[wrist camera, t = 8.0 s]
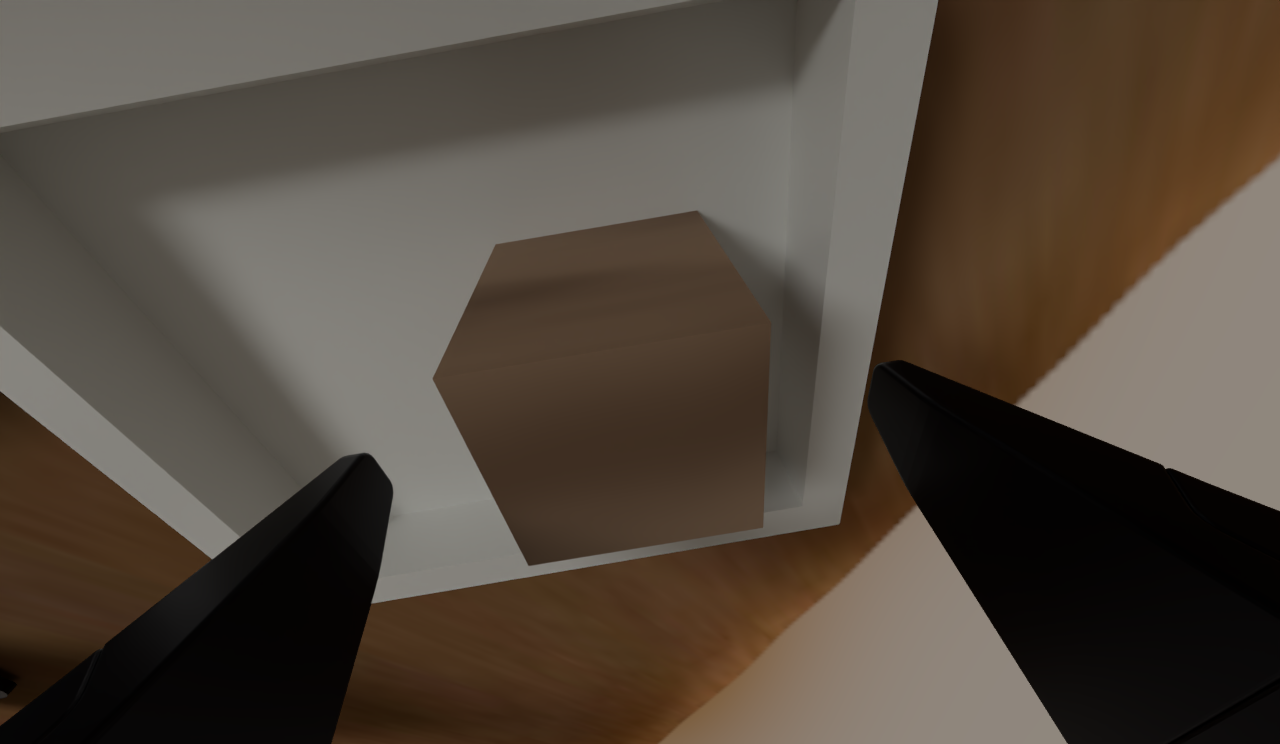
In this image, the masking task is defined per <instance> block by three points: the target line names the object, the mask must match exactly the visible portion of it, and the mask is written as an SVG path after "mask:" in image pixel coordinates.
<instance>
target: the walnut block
mask: <svg viewBox="0 0 1280 744" xmlns="http://www.w3.org/2000/svg"><path fill="white" fill-rule="evenodd" d="M770 341H771V321H770V320H769V318H768V317H767V315H766V314H765V312H764V311H763V309H762V308H761V306H760V305H759V303H758V302H757V300H756V299H755V297H754V296H753V294H752V293H751V291H750V290H749V288H748V287H747V285H746V284H745V282H744V281H743V279H742V278H741V276H740V274H739V273H738V271H737V270H736V268H735V267H734V265H733V264H732V262H731V261H730V259H729V258H728V256H727V255H726V253H725V252H724V250H723V249H722V247H721V246H720V244H719V243H718V241H717V240H716V238H715V237H714V235H713V234H712V232H711V231H710V229H709V228H708V226H707V225H706V223H705V221H704V220H703V218H702V217H701V215H700V214H699V212H698V211H691V212H685V213H679V214H673V215H667V216H661V217H655V218H649V219H643V220H637V221H631V222H625V223H619V224H614V225H608V226H602V227H596V228H590V229H584V230H578V231H572V232H566V233H560V234H554V235H548V236H542V237H536V238H530V239H524V240H518V241H512V242H507V243H501V244H495V247H494V249H493V251H492V253H491V255H490V257H489V259H488V262H487V264H486V266H485V268H484V270H483V272H482V274H481V276H480V279H479V281H478V283H477V285H476V287H475V289H474V291H473V293H472V296H471V298H470V300H469V302H468V304H467V306H466V308H465V311H464V313H463V315H462V317H461V319H460V321H459V323H458V325H457V328H456V330H455V332H454V334H453V336H452V338H451V340H450V342H449V345H448V347H447V349H446V351H445V353H444V355H443V357H442V359H441V362H440V364H439V366H438V368H437V370H436V372H435V374H434V377H433V381H434V383H435V385H436V387H437V389H438V391H439V393H440V395H441V397H442V399H443V401H444V403H445V404H446V406H447V408H448V410H449V412H450V414H451V416H452V418H453V420H454V422H455V424H456V426H457V428H458V430H459V432H460V434H461V436H462V438H463V440H464V441H465V443H466V445H467V447H468V449H469V451H470V453H471V455H472V457H473V459H474V461H475V463H476V465H477V467H478V469H479V471H480V473H481V475H482V477H483V478H484V480H485V482H486V484H487V486H488V488H489V490H490V492H491V494H492V496H493V498H494V500H495V502H496V504H497V506H498V508H499V510H500V512H501V514H502V515H503V517H504V519H505V521H506V523H507V525H508V527H509V529H510V531H511V533H512V535H513V537H514V539H515V541H516V543H517V545H518V547H519V549H520V551H521V552H522V554H523V556H524V558H525V560H526V562H527V564H528V566H532V565H539V564H545V563H551V562H557V561H563V560H569V559H575V558H581V557H587V556H594V555H600V554H606V553H612V552H618V551H624V550H630V549H636V548H642V547H649V546H655V545H661V544H667V543H673V542H679V541H685V540H691V539H697V538H703V537H710V536H716V535H722V534H728V533H734V532H740V531H746V530H752V529H758V528H763V519H764V494H765V468H766V443H767V417H768V392H769V366H770Z"/></svg>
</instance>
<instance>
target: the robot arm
mask: <svg viewBox="0 0 1280 744" xmlns="http://www.w3.org/2000/svg"><path fill="white" fill-rule="evenodd" d="M868 409H869V412H870V414H871V416H872V418H873V421H874V423H875V425H876V427H877V429H878V431H879V433H880V435H881V437H882V439H883V441H884V443H885V445H886V447H887V449H888V452H889V454H890V456H891V458H892V460H893V462H894V464H895V466H896V468H897V470H898V472H899V474H900V476H901V478H902V480H903V482H904V484H905V486H906V487H907V489H908V491H909V493H910V494H911V496H912V498H913V499H914V501H915V502H916V504H917V506H918V507H919V509H920V510H921V512H922V513H923V515H924V517H925V518H926V520H927V521H928V523H929V525H930V526H931V527H932V529H933V531H934V532H935V534H936V535H937V537H938V539H939V540H940V542H941V543H942V545H943V547H944V548H945V550H946V552H947V553H948V555H949V556H950V558H951V559H952V561H953V562H954V564H955V566H956V567H957V569H958V571H959V572H960V574H961V575H962V577H963V578H964V580H965V582H966V583H967V585H968V586H969V588H970V590H971V591H972V593H973V594H974V596H975V597H976V599H977V601H978V602H979V604H980V605H981V607H982V609H983V610H984V612H985V613H986V615H987V617H988V618H989V620H990V621H991V623H992V624H993V626H994V628H995V629H996V631H997V632H998V634H999V636H1000V637H1001V639H1002V640H1003V642H1004V644H1005V645H1006V647H1007V648H1008V650H1009V651H1010V653H1011V655H1012V656H1013V658H1014V659H1015V661H1016V663H1017V664H1018V666H1019V667H1020V669H1021V670H1022V672H1023V674H1024V675H1025V677H1026V678H1027V680H1028V682H1029V683H1030V685H1031V686H1032V688H1033V689H1034V691H1035V693H1036V694H1037V696H1038V697H1039V699H1040V700H1041V702H1042V704H1043V705H1044V707H1045V709H1046V710H1047V712H1048V713H1049V715H1050V716H1051V718H1052V720H1053V721H1054V723H1055V724H1056V726H1057V727H1058V729H1059V731H1060V732H1061V734H1062V736H1063V737H1064V739H1065V740H1066V742H1067V743H1068V744H1280V511H1278V510H1275V509H1273V508H1270V507H1267V506H1265V505H1262V504H1260V503H1257V502H1255V501H1252V500H1250V499H1247V498H1244V497H1242V496H1239V495H1236V494H1234V493H1232V492H1229V491H1226V490H1224V489H1221V488H1219V487H1216V486H1214V485H1211V484H1208V483H1206V482H1204V481H1201V480H1199V479H1196V478H1194V477H1191V476H1189V475H1186V474H1184V473H1181V472H1179V471H1177V470H1174V469H1171V468H1168V469H1165V468H1164V466H1163V465H1161V464H1159V463H1156V462H1154V461H1151V460H1149V459H1146V458H1144V457H1142V456H1139V455H1137V454H1134V453H1132V452H1129V451H1126V450H1124V449H1122V448H1119V447H1117V446H1114V445H1112V444H1109V443H1107V442H1104V441H1102V440H1099V439H1096V438H1094V437H1092V436H1089V435H1087V434H1084V433H1082V432H1079V431H1077V430H1074V429H1072V428H1070V427H1067V426H1064V425H1062V424H1060V423H1057V422H1055V421H1052V420H1050V419H1047V418H1044V417H1042V416H1040V415H1037V414H1034V413H1032V412H1030V411H1027V410H1025V409H1022V408H1020V407H1017V406H1015V405H1012V404H1010V403H1007V402H1005V401H1002V400H1000V399H998V398H995V397H993V396H990V395H988V394H985V393H983V392H980V391H978V390H975V389H973V388H970V387H968V386H965V385H963V384H960V383H958V382H955V381H953V380H950V379H948V378H945V377H943V376H940V375H938V374H935V373H933V372H930V371H928V370H926V369H923V368H921V367H918V366H916V365H913V364H911V363H908V362H906V361H903V360H896V361H890V362H884V363H880V364H878V365H876V366H875V368H874V370H873V375H872V380H871V385H870V390H869V395H868ZM392 500H393V486H392V483H391V481H390V479H389V478H388V477H387V475H386V474H385V472H384V471H383V470H382V468H381V467H380V465H379V464H378V463H377V461H376V460H375V458H374V457H373V456H372V455H370V454H369V453H358V454H352V455H347V456H343V457H341V458H340V459H338V460H337V461H336V462H335V463H333V464H332V465H331V466H330V467H328V468H327V469H326V470H325V471H323V472H322V473H321V474H319V475H318V476H317V477H316V478H314V479H313V480H312V481H311V482H309V483H308V484H307V485H306V486H304V487H303V488H302V489H300V490H299V491H298V492H297V493H295V494H294V495H293V496H292V497H290V498H289V499H288V500H287V501H285V502H284V503H283V504H282V505H280V506H279V507H278V508H276V509H275V510H274V511H273V512H271V513H270V514H269V515H268V516H266V517H265V518H264V519H263V520H261V521H260V522H259V523H258V524H256V525H255V526H254V527H252V528H251V529H250V530H249V531H247V532H246V533H245V534H244V535H242V536H241V537H240V538H239V539H237V540H236V541H235V542H234V543H232V544H231V545H230V546H228V547H227V548H226V549H225V550H223V551H222V552H221V553H220V554H218V555H217V556H216V557H215V558H213V559H212V560H211V561H210V562H208V563H207V564H206V565H204V566H203V567H202V568H201V569H199V570H198V571H197V572H196V573H194V574H193V575H192V576H191V577H189V578H188V579H187V580H186V581H184V582H183V583H182V584H180V585H179V586H178V587H177V588H175V589H174V590H173V591H172V592H170V593H169V594H168V595H167V596H165V597H164V598H163V599H162V600H160V601H159V602H158V603H156V604H155V605H154V606H153V607H151V608H150V609H149V610H148V611H146V612H145V613H144V614H143V615H141V616H140V617H139V618H138V619H136V620H135V621H134V622H132V623H131V624H130V625H129V626H127V627H126V628H125V629H124V630H122V631H121V632H120V633H119V634H117V635H116V636H115V637H114V638H112V639H111V640H110V641H108V642H107V643H106V644H105V646H104V648H103V649H99V650H97V651H96V652H94V653H93V654H92V655H91V656H89V657H88V658H87V659H85V660H84V661H83V662H82V663H80V664H79V665H78V666H77V667H75V668H74V669H73V670H72V671H70V672H69V673H68V674H67V675H65V676H64V677H63V678H62V679H60V680H59V681H58V682H56V683H55V684H54V685H52V686H51V687H50V688H49V689H47V690H46V691H45V692H43V693H42V694H41V695H40V696H38V697H37V698H36V699H34V700H33V701H32V702H31V703H29V704H28V705H27V706H25V707H24V708H23V709H22V710H20V711H19V712H18V713H16V714H15V715H14V716H13V717H11V718H10V719H9V720H7V721H6V722H5V723H3V724H2V725H1V726H0V744H331V743H332V739H333V736H334V732H335V729H336V725H337V722H338V718H339V715H340V711H341V708H342V704H343V701H344V697H345V694H346V690H347V687H348V683H349V680H350V676H351V673H352V669H353V666H354V662H355V659H356V655H357V652H358V648H359V645H360V641H361V638H362V634H363V631H364V627H365V624H366V620H367V617H368V613H369V610H370V606H371V603H372V599H373V596H374V592H375V589H376V585H377V581H378V577H379V573H380V568H381V563H382V558H383V552H384V546H385V540H386V535H387V529H388V523H389V517H390V512H391V506H392ZM16 686H17V684H16V683H15V682H13V681H11V680H9V679H6V678H4V677H1V676H0V698H5V697H7V696H8V695H9V693H10V692H11V691H12V690H13V689H14V688H15V687H16Z"/></svg>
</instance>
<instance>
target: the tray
mask: <svg viewBox="0 0 1280 744" xmlns="http://www.w3.org/2000/svg"><path fill="white" fill-rule="evenodd" d="M937 5H938V0H0V392H2V393H3V394H4V395H6V396H7V397H8V398H9V399H11V400H12V401H13V402H14V403H16V404H17V405H18V406H19V407H21V408H22V409H23V410H24V411H26V412H27V413H28V414H30V415H31V416H32V417H33V418H35V419H36V420H37V421H38V422H40V423H41V424H42V425H43V426H45V427H46V428H47V429H48V430H50V431H51V432H52V433H54V434H55V435H56V436H57V437H59V438H60V439H61V440H62V441H64V442H65V443H66V444H67V445H69V446H70V447H71V448H72V449H74V450H75V451H76V452H78V453H79V454H80V455H81V456H83V457H84V458H85V459H86V460H88V461H89V462H90V463H91V464H93V465H94V466H95V467H96V468H98V469H99V470H100V471H102V472H103V473H104V474H105V475H107V476H108V477H109V478H110V479H112V480H113V481H114V482H115V483H117V484H118V485H119V486H120V487H122V488H123V489H124V490H126V491H127V492H128V493H129V494H131V495H132V496H133V497H134V498H136V499H137V500H138V501H139V502H141V503H142V504H143V505H144V506H146V507H147V508H148V509H150V510H151V511H152V512H153V513H155V514H156V515H157V516H158V517H160V518H161V519H162V520H163V521H165V522H166V523H167V524H168V525H170V526H171V527H172V528H174V529H175V530H176V531H177V532H179V533H180V534H181V535H182V536H184V537H185V538H186V539H187V540H189V541H190V542H191V543H192V544H194V545H195V546H196V547H198V548H199V549H200V550H201V551H203V552H204V553H205V554H206V555H208V556H209V557H210V558H211V559H213V558H215V557H216V556H217V555H218V554H220V553H221V552H222V551H223V550H225V549H226V548H227V547H228V546H230V545H231V544H232V543H234V542H235V541H236V540H237V539H239V538H240V537H241V536H242V535H244V534H245V533H246V532H247V531H249V530H250V529H251V528H252V527H254V526H255V525H256V524H258V523H259V522H260V521H261V520H263V519H264V518H265V517H266V516H268V515H269V514H270V513H271V512H273V511H274V510H275V509H276V508H278V507H279V506H280V505H282V504H283V503H284V502H285V501H287V500H288V499H289V498H290V497H292V496H293V495H294V494H295V493H297V492H298V491H299V490H300V489H302V488H303V487H304V486H306V485H307V484H308V483H309V482H311V481H312V480H313V479H314V478H316V477H317V476H318V475H319V474H321V473H322V472H323V471H325V470H326V469H327V468H328V467H330V466H331V465H332V464H333V463H335V462H336V461H337V460H338V459H340V458H341V457H343V456H347V455H352V454H358V453H369V454H370V455H372V456H373V457H374V458H375V460H376V461H377V463H378V464H379V465H380V467H381V468H382V470H383V471H384V472H385V474H386V475H387V477H388V478H389V479H390V481H391V483H392V486H393V500H392V506H391V512H390V517H389V523H388V529H387V535H386V540H385V546H384V552H383V558H382V563H381V568H380V573H379V577H378V581H377V585H376V589H375V592H374V596H373V599H372V603H377V602H383V601H389V600H395V599H401V598H407V597H413V596H419V595H424V594H430V593H436V592H442V591H448V590H454V589H460V588H466V587H472V586H478V585H484V584H490V583H495V582H501V581H507V580H513V579H519V578H525V577H531V576H537V575H543V574H549V573H555V572H560V571H566V570H572V569H578V568H584V567H590V566H596V565H602V564H608V563H614V562H620V561H626V560H631V559H637V558H643V557H649V556H655V555H661V554H667V553H673V552H679V551H685V550H691V549H697V548H702V547H708V546H714V545H720V544H726V543H732V542H738V541H744V540H750V539H756V538H762V537H767V536H773V535H779V534H785V533H791V532H797V531H803V530H809V529H815V528H821V527H827V526H833V525H838V524H840V519H841V514H842V508H843V503H844V498H845V492H846V487H847V482H848V477H849V471H850V466H851V461H852V455H853V450H854V445H855V439H856V434H857V429H858V424H859V418H860V413H861V408H862V402H863V397H864V392H865V386H866V381H867V376H868V371H869V365H870V360H871V355H872V349H873V344H874V339H875V333H876V328H877V323H878V318H879V312H880V307H881V302H882V296H883V291H884V286H885V280H886V275H887V270H888V265H889V259H890V254H891V249H892V243H893V238H894V233H895V227H896V222H897V217H898V212H899V206H900V201H901V196H902V190H903V185H904V180H905V174H906V169H907V164H908V158H909V153H910V148H911V143H912V137H913V132H914V127H915V121H916V116H917V111H918V105H919V100H920V95H921V90H922V84H923V79H924V74H925V68H926V63H927V58H928V52H929V47H930V42H931V37H932V31H933V26H934V21H935V15H936V10H937ZM691 211H698V212H699V214H700V215H701V217H702V218H703V220H704V221H705V223H706V225H707V226H708V228H709V229H710V231H711V232H712V234H713V235H714V237H715V238H716V240H717V241H718V243H719V244H720V246H721V247H722V249H723V250H724V252H725V253H726V255H727V256H728V258H729V259H730V261H731V262H732V264H733V265H734V267H735V268H736V270H737V271H738V273H739V274H740V276H741V278H742V279H743V281H744V282H745V284H746V285H747V287H748V288H749V290H750V291H751V293H752V294H753V296H754V297H755V299H756V300H757V302H758V303H759V305H760V306H761V308H762V309H763V311H764V312H765V314H766V315H767V317H768V318H769V320H770V321H771V341H770V366H769V392H768V417H767V443H766V468H765V494H764V519H763V528H758V529H752V530H746V531H740V532H734V533H728V534H722V535H716V536H710V537H703V538H697V539H691V540H685V541H679V542H673V543H667V544H661V545H655V546H649V547H642V548H636V549H630V550H624V551H618V552H612V553H606V554H600V555H594V556H587V557H581V558H575V559H569V560H563V561H557V562H551V563H545V564H539V565H532V566H528V564H527V562H526V560H525V558H524V556H523V554H522V552H521V551H520V549H519V547H518V545H517V543H516V541H515V539H514V537H513V535H512V533H511V531H510V529H509V527H508V525H507V523H506V521H505V519H504V517H503V515H502V514H501V512H500V510H499V508H498V506H497V504H496V502H495V500H494V498H493V496H492V494H491V492H490V490H489V488H488V486H487V484H486V482H485V480H484V478H483V477H482V475H481V473H480V471H479V469H478V467H477V465H476V463H475V461H474V459H473V457H472V455H471V453H470V451H469V449H468V447H467V445H466V443H465V441H464V440H463V438H462V436H461V434H460V432H459V430H458V428H457V426H456V424H455V422H454V420H453V418H452V416H451V414H450V412H449V410H448V408H447V406H446V404H445V403H444V401H443V399H442V397H441V395H440V393H439V391H438V389H437V387H436V385H435V383H434V381H433V377H434V374H435V372H436V370H437V368H438V366H439V364H440V362H441V359H442V357H443V355H444V353H445V351H446V349H447V347H448V345H449V342H450V340H451V338H452V336H453V334H454V332H455V330H456V328H457V325H458V323H459V321H460V319H461V317H462V315H463V313H464V311H465V308H466V306H467V304H468V302H469V300H470V298H471V296H472V293H473V291H474V289H475V287H476V285H477V283H478V281H479V279H480V276H481V274H482V272H483V270H484V268H485V266H486V264H487V262H488V259H489V257H490V255H491V253H492V251H493V249H494V247H495V244H501V243H507V242H512V241H518V240H524V239H530V238H536V237H542V236H548V235H554V234H560V233H566V232H572V231H578V230H584V229H590V228H596V227H602V226H608V225H614V224H619V223H625V222H631V221H637V220H643V219H649V218H655V217H661V216H667V215H673V214H679V213H685V212H691Z"/></svg>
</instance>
